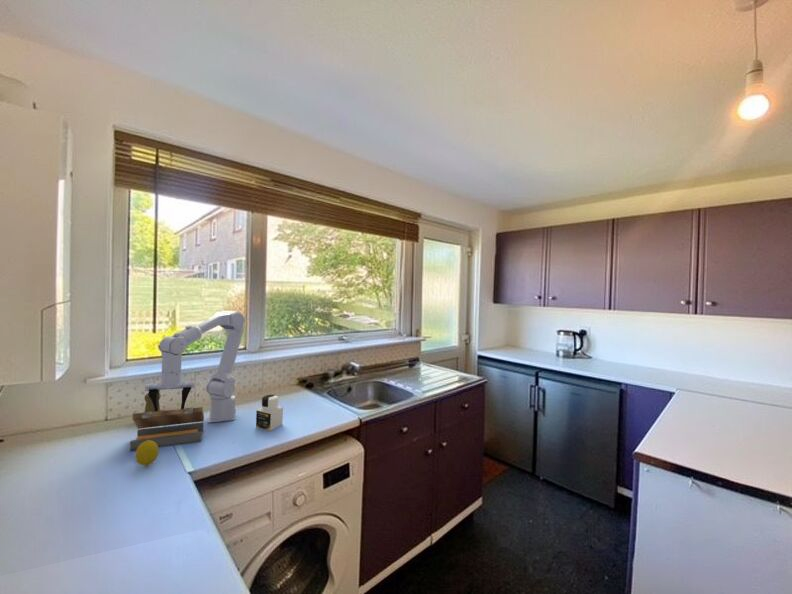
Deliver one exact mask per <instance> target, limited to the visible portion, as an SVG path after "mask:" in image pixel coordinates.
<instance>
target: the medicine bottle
mask: <svg viewBox="0 0 792 594" xmlns="http://www.w3.org/2000/svg"><path fill="white" fill-rule="evenodd" d="M255 415H256V416H255V419H256V420H255V428H256V429H257V428H258V429H260V428H261V430H265V431H268V432H271V431H272V430H275V429H277V428H279V427H280V426H282V425H283V421H284V418H283V415H284V408H283V406H280V405H279V396H278V395H275V394H266V395H264V396H263V397H262V398H261V407H260V408H258V409H256V414H255ZM276 427H277V428H276Z"/></svg>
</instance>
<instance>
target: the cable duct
mask: <svg viewBox="0 0 792 594" xmlns="http://www.w3.org/2000/svg"><path fill="white" fill-rule="evenodd" d="M204 423H205V421H202V422H194V423H185V424H176V425H167V426H158V427H149V428H140V429H138V430H137V435H136V439H134V440H133V439H132V440H130V442H129V452H133V451H135V452H136V451H137V448H138V446H139V445H140V444H141V443H143V442H145V441H146V440H151V441H154V442H156V444H157V445H158V448H164V447H170V446H171V447H172V446H181V445H187V444H194V443H201V442H202V438H203V434H204V428H205V427H204V425H205V424H204Z"/></svg>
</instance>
